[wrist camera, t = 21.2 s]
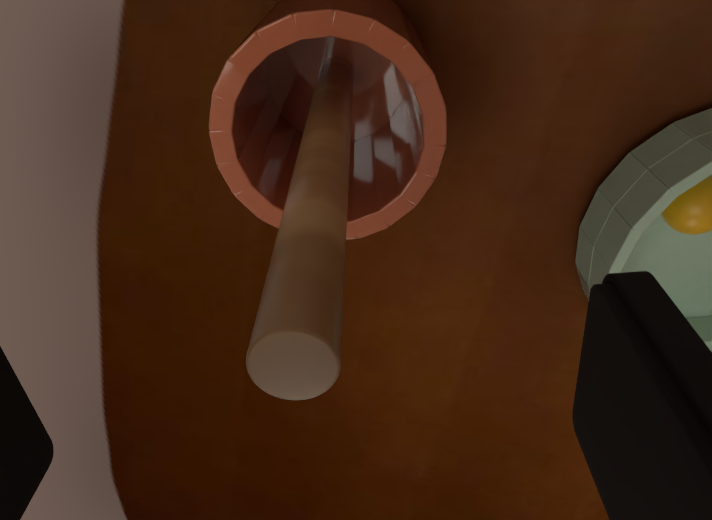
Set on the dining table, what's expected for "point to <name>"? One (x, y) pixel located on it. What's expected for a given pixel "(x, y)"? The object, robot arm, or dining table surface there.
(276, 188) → the utensil pot
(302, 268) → the stirring stick
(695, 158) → the bowl
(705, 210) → the ball
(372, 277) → the dining table surface
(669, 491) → the robot arm
